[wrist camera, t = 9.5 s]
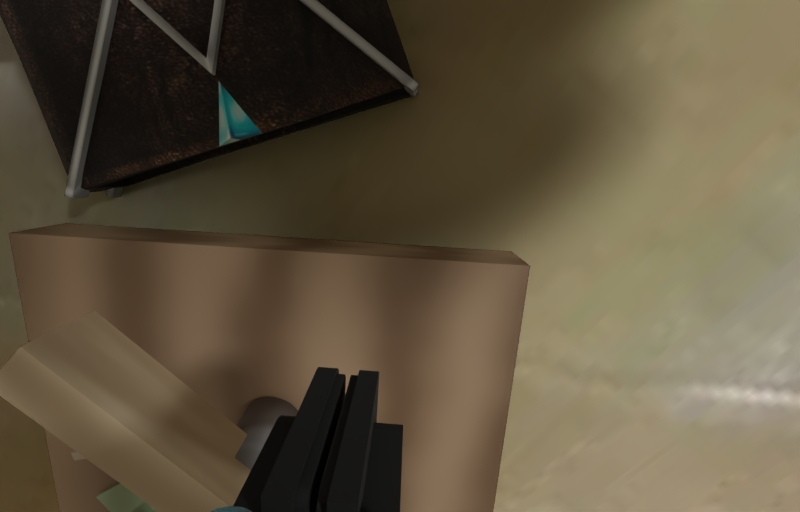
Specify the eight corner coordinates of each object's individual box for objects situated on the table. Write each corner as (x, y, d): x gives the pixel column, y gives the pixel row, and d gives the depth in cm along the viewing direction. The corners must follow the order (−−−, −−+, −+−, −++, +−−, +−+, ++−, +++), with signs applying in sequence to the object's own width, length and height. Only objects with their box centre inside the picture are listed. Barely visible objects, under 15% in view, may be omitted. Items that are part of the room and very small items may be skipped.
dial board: (511, 251, 20) (531, 267, 17) (471, 540, 25) (481, 593, 22) (66, 223, 20) (4, 233, 17) (109, 521, 25) (67, 572, 22)
